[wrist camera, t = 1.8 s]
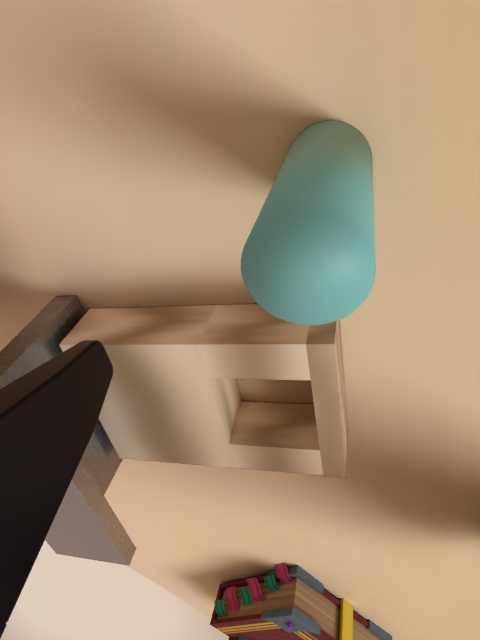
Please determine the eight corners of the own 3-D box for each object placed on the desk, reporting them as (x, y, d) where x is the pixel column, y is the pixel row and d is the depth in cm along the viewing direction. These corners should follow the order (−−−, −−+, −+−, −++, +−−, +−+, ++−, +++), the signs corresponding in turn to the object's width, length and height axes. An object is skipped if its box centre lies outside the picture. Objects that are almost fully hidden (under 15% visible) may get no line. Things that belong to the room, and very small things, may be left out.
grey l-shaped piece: (124, 286, 25) (25, 409, 18) (182, 434, 33) (129, 565, 25) (52, 289, 27) (-67, 404, 20) (123, 431, 34) (56, 553, 27)
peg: (371, 114, 17) (374, 201, 10) (372, 201, 19) (376, 324, 12) (281, 127, 18) (229, 215, 11) (291, 209, 20) (252, 325, 13)
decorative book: (307, 639, 52) (303, 692, 48) (210, 573, 47) (196, 626, 43) (393, 632, 46) (395, 693, 42) (291, 555, 41) (283, 615, 37)
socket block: (338, 301, 23) (334, 344, 20) (347, 430, 28) (345, 477, 26) (89, 308, 27) (58, 344, 24) (140, 419, 33) (119, 458, 30)
